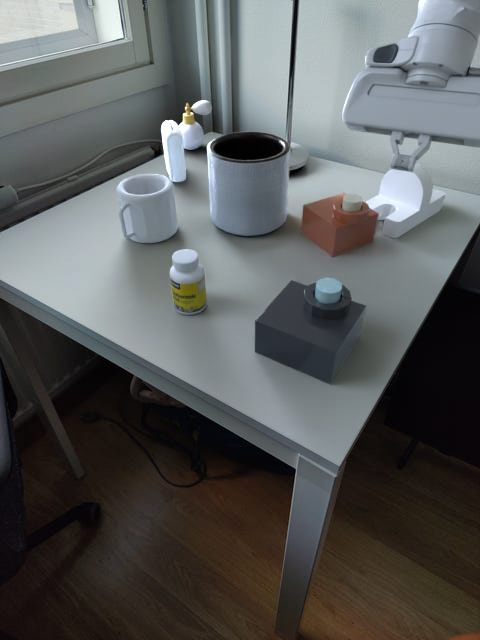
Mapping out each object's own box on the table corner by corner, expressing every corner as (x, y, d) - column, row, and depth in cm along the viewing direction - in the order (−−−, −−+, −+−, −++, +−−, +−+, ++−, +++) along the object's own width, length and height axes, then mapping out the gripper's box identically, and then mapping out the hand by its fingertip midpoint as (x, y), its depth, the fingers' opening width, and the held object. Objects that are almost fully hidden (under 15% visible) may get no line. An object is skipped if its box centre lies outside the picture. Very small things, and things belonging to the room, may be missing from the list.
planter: (303, 221, 96) (309, 147, 86) (241, 248, 89) (240, 170, 78) (254, 194, 106) (255, 124, 95) (196, 216, 98) (189, 143, 88)
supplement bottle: (168, 311, 75) (160, 261, 68) (183, 292, 79) (177, 243, 72) (198, 319, 73) (193, 269, 67) (212, 299, 77) (208, 249, 71)
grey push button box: (361, 334, 70) (370, 293, 65) (330, 384, 63) (337, 342, 58) (290, 308, 75) (293, 268, 70) (254, 352, 68) (254, 310, 62)
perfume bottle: (172, 146, 128) (167, 100, 120) (203, 139, 132) (200, 94, 124) (185, 155, 123) (181, 108, 115) (216, 147, 127) (214, 101, 119)
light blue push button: (344, 293, 66) (346, 282, 64) (334, 307, 63) (336, 296, 62) (321, 286, 67) (322, 274, 66) (310, 299, 65) (311, 287, 63)
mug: (146, 213, 100) (139, 168, 93) (188, 224, 96) (183, 178, 89) (105, 243, 91) (93, 196, 84) (149, 257, 87) (140, 208, 80)
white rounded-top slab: (164, 166, 118) (158, 116, 110) (181, 164, 119) (176, 114, 111) (170, 183, 110) (164, 131, 102) (188, 181, 111) (183, 129, 103)
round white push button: (364, 209, 84) (366, 199, 82) (350, 214, 83) (351, 204, 81) (352, 202, 86) (353, 192, 85) (338, 206, 85) (339, 196, 83)
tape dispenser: (355, 221, 96) (363, 171, 89) (404, 194, 105) (415, 146, 97) (394, 239, 90) (406, 187, 83) (443, 208, 99) (457, 159, 92)
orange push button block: (376, 244, 89) (384, 206, 84) (335, 259, 85) (341, 221, 80) (340, 220, 96) (345, 184, 91) (300, 233, 93) (303, 196, 87)
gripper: (519, 82, 60) (482, 188, 62) (365, 70, 68) (338, 164, 70) (523, 58, 54) (483, 177, 56) (356, 49, 63) (326, 151, 65)
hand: (401, 169), depth 63 cm, fingers closed
